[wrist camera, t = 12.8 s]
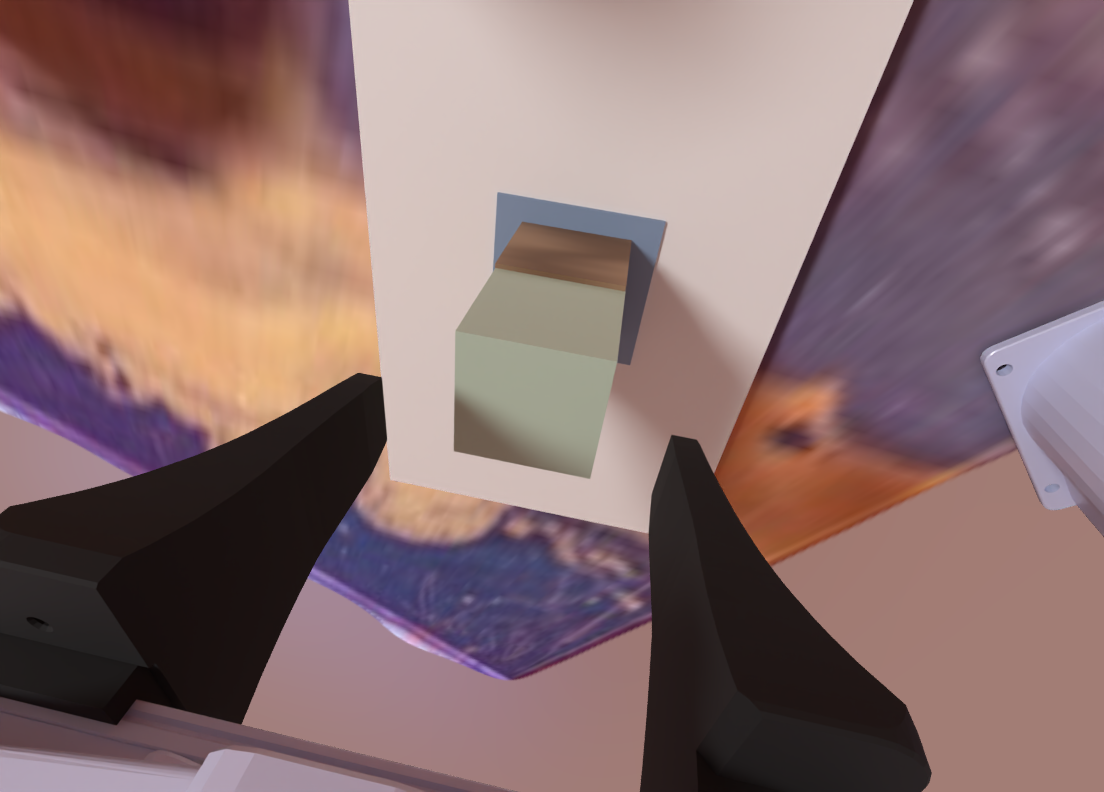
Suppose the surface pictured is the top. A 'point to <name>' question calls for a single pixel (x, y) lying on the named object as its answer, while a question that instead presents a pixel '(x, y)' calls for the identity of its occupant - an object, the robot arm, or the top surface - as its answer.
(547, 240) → the walnut block
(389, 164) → the white flat panel
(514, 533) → the top surface
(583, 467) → the sage block
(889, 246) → the top surface
